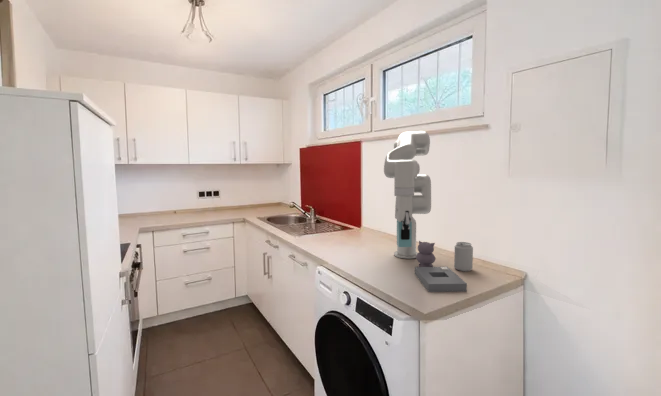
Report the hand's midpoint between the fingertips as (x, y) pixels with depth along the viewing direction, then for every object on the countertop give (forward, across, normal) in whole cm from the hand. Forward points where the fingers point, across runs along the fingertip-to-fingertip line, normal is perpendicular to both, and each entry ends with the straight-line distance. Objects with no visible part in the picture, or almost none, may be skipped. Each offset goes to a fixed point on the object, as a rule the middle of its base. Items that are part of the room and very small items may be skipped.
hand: (403, 237), depth 125 cm
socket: (+18, +1, +14) cm, 23 cm away
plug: (+3, 0, 0) cm, 3 cm away
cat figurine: (+19, -17, +14) cm, 29 cm away
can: (+19, -14, +30) cm, 38 cm away
